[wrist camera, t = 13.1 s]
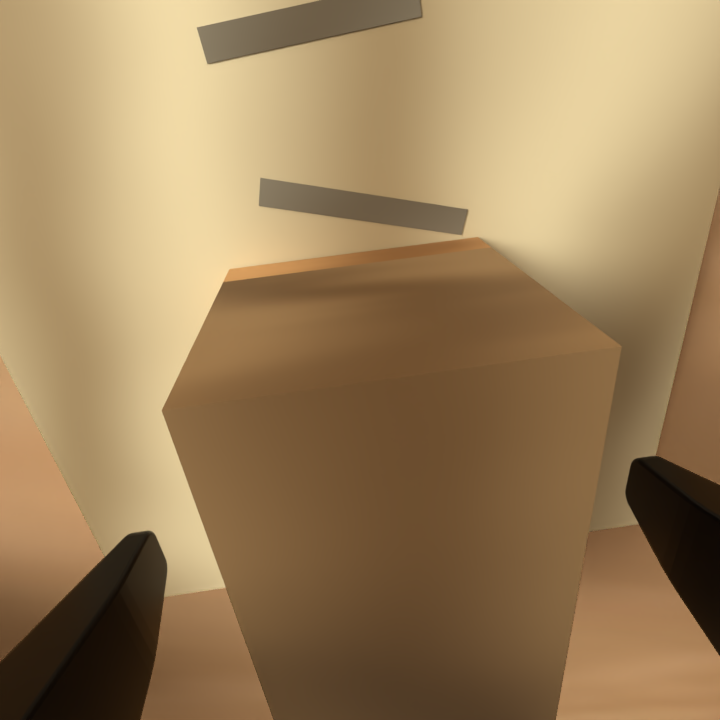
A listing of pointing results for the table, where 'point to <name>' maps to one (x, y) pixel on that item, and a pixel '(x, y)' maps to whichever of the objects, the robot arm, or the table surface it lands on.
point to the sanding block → (397, 478)
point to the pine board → (332, 195)
